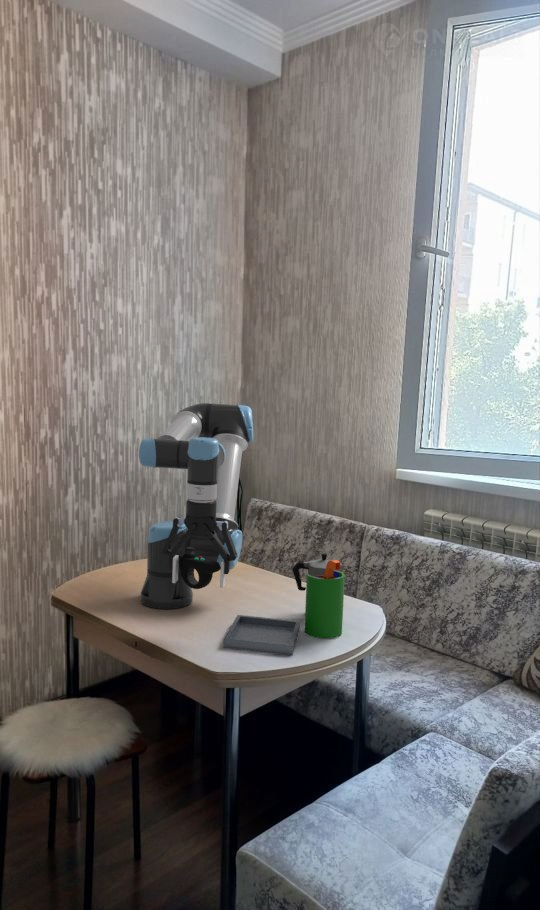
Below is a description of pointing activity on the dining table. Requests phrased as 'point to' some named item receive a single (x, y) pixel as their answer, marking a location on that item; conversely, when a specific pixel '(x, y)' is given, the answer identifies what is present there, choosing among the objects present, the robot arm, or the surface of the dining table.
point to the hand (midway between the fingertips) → (198, 583)
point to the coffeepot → (312, 569)
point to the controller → (197, 569)
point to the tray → (263, 635)
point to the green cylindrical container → (325, 602)
